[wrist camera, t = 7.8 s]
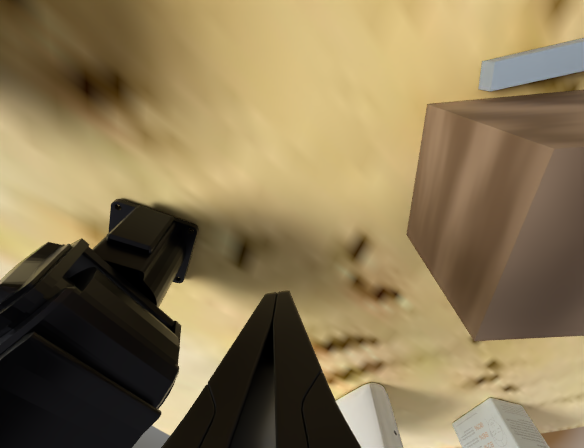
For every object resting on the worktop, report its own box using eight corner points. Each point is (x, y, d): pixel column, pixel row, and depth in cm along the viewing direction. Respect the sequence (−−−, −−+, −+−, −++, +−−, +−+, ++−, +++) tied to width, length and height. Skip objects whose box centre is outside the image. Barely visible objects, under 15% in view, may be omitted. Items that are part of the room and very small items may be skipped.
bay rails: (455, 266, 24) (463, 275, 23) (482, 61, 16) (494, 61, 15) (579, 247, 23) (592, 256, 22) (675, 16, 15) (703, 13, 14)
